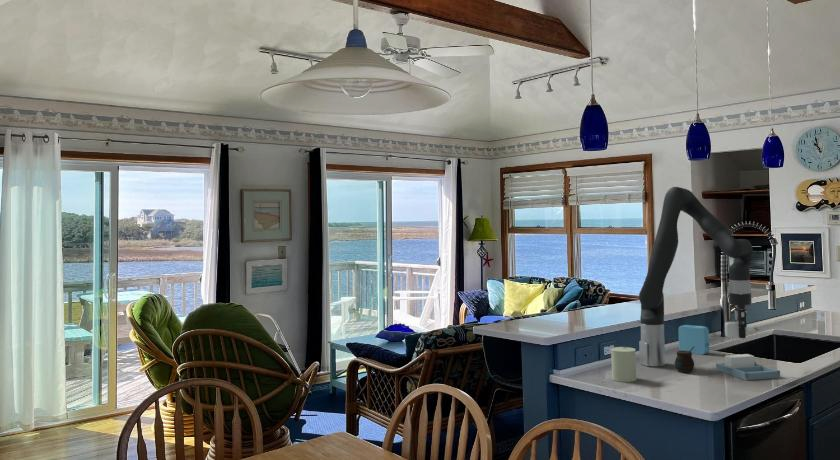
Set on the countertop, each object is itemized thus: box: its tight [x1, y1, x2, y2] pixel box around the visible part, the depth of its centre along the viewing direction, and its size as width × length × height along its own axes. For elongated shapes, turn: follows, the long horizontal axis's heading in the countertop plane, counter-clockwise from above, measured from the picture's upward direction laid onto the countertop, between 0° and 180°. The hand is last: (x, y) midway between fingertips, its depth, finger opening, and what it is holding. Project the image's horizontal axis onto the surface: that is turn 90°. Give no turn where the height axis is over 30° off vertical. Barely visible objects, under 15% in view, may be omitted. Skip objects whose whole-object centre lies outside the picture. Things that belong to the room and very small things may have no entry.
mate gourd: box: [674, 346, 695, 374], centre depth 252 cm, size 7×8×10 cm
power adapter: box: [724, 321, 759, 339], centre depth 239 cm, size 11×5×6 cm, turn 73°
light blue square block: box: [678, 324, 710, 356], centre depth 286 cm, size 12×4×12 cm, turn 41°
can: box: [610, 346, 637, 383], centre depth 243 cm, size 9×9×12 cm
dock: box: [715, 353, 781, 381], centre depth 245 cm, size 14×18×6 cm
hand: (741, 336), depth 239 cm, fingers closed on power adapter, 5 cm apart
